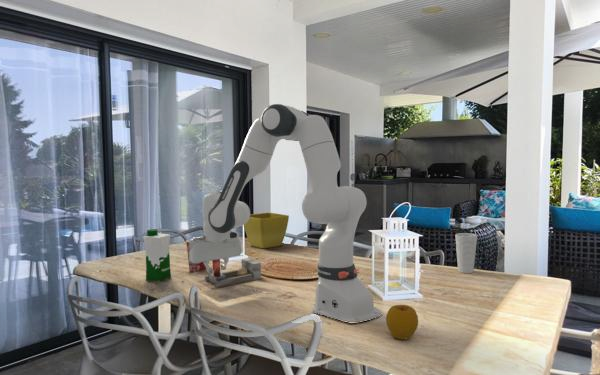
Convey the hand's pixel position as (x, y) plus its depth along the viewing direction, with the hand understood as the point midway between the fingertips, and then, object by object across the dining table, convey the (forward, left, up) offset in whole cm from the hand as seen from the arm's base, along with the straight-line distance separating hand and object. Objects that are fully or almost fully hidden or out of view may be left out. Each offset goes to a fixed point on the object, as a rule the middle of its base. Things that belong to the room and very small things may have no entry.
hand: (216, 270), depth 165 cm
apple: (-74, -19, -6) cm, 77 cm away
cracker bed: (0, -6, -6) cm, 9 cm away
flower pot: (+52, -54, -6) cm, 75 cm away
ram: (0, 0, -4) cm, 4 cm away
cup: (-47, -90, -6) cm, 102 cm away
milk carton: (+25, +14, -6) cm, 29 cm away
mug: (+25, -4, -6) cm, 26 cm away
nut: (0, -11, -5) cm, 12 cm away
